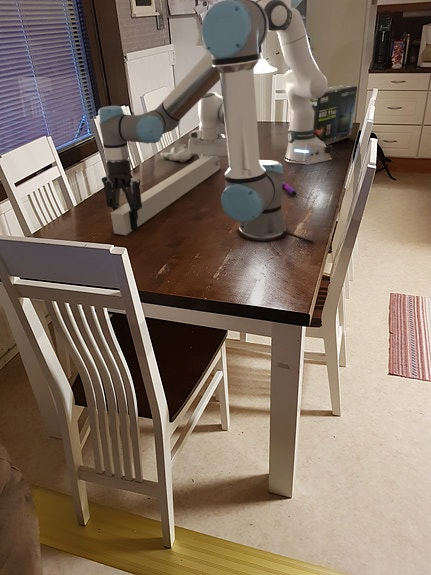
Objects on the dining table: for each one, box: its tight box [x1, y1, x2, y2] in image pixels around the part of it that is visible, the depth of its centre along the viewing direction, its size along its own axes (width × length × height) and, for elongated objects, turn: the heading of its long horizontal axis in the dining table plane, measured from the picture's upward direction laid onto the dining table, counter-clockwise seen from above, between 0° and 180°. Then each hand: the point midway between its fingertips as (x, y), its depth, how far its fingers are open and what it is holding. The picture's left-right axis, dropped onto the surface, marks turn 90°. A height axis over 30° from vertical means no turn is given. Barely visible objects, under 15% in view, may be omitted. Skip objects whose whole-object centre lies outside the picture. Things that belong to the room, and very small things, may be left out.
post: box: [110, 155, 221, 236], centre depth 181 cm, size 78×5×7 cm, turn 156°
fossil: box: [160, 142, 195, 163], centre depth 229 cm, size 18×11×15 cm
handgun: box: [282, 179, 297, 197], centre depth 185 cm, size 21×8×2 cm, turn 11°
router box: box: [310, 84, 358, 144], centre depth 238 cm, size 36×11×27 cm, turn 134°
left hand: (127, 227), depth 156 cm, fingers closed on post, 5 cm apart
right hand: (210, 164), depth 207 cm, fingers open, 6 cm apart
